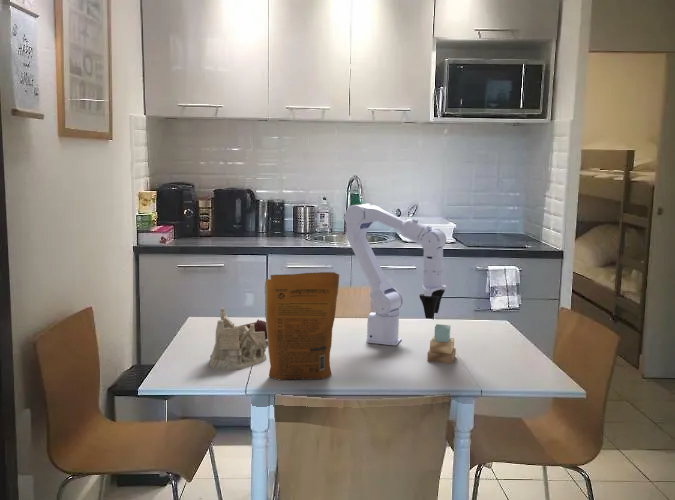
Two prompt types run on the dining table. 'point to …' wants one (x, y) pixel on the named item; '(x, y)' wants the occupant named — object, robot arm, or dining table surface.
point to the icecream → (259, 327)
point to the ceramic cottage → (236, 345)
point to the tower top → (442, 346)
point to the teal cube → (442, 333)
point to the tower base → (441, 357)
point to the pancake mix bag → (300, 324)
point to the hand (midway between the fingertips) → (431, 315)
